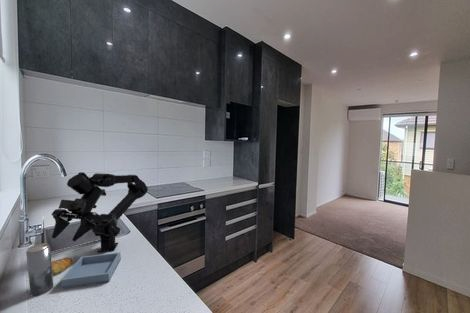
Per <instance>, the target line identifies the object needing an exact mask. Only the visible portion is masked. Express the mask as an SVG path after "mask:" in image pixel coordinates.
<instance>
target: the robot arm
mask: <svg viewBox="0 0 470 313" xmlns="http://www.w3.org/2000/svg"><path fill="white" fill-rule="evenodd" d="M116 184H127V186H126V187H127V188H128V190H127V194H126V195H125V196H124V197H123V199H122V200H120V201H119V202H118V203H117V204H116V206H114V208H112V209H111V210H110V212H108V213H101V214H99V213H97V212H96V211H93V209H96V208H97V207H98V206H97V205H96V204H97V202H98V201H99V199H100V198H101V196H103V197H105V196H107V192H106V189H104V188H109V187H112V186H114V185H116ZM66 186H67V187H69V188H70V189H71V190H73V191H74V192H76V193H77V194H79V195H82V196H81V197H80V198H77V197H76V198H74V200H70V199H61V201H60V203H59V206H58V208H56V209H54V210H53V212H51V216H52V218H53V219H54V221H55V222H54V223H55V224H54V228H53V232H52V235H51V238H52V239H56V238H57V237H58V236H60V234H62V232H63V231H64V230H65V229H66V228H67V227H69V225H71V221H73V220H80V224H79V227H78V228H77V230H76V232H75V233H74V236H72V239H71V241H72V242H77V240H79V239H80V238H81V237H83V236H84V235H85V234H86V233H89V231H92V232H93V234H94V235H95V237H99V238H100V241H99V242H100V248H99V249H98V250H97V252H98V253H103V252H105V253H106V252H113V251H115V250H116V248H117V247H118V245H119V242H116V237H117V236H118V235H119V234H121V233H120V231H121V228H120V227H118V220H119V219H120V218H121V217H122V216H123V215H124V214H125V213H126V212H127V210H128V209H129V208H130V207H131V206H132V205H133V204H134V202H135V201H136V200H138V199H141V198H143V197H144V196H146V194H147V192H148V190H149V189H148V186H147V184H146V183H145V181H143V180H142V179H140V177H139V176H138V175H136V174H125V175H124V174H119V175H115V174H111V173H102V172H101V173H100V172H99V173H98V172H95V173H93V174H92V176H88V175H87V174H86V173H85V172H81V171H80V172H78V174H76V175H73V176H72V177H70V178H69V179H68V180H67V183H66Z"/></svg>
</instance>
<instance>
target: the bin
mask: <svg viewBox="0 0 470 313" xmlns="http://www.w3.org/2000/svg"><path fill="white" fill-rule="evenodd" d="M121 259H122V256H121V252H111V253H102V254H93V255H86V256H85V255H83V256H81V257H80V258H79V259H78V260H77V261H76V263H74V265H72V267H71V268H70V269H69V270H68V271H67V272H66V274H65V275H64V276H63V277H62V278H61V279H60V280H61V281H60V282H61V289H69V288H78V287H83V286H90V285H98V284H104V283H110V281H111V279H112V278H113V276H114V274H115V271H116V270H117V267H118V266H119V264H120V261H121Z"/></svg>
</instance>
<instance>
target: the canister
mask: <svg viewBox="0 0 470 313" xmlns="http://www.w3.org/2000/svg"><path fill="white" fill-rule="evenodd" d="M25 253H26V263H27V264H26V265H27V273H28V274H27V275H28V282H29V293H30V294H29V295H30V296H31V295H32V296H31V297H39V296H42V295H45V294H46V293H48V292H51V290H53V289H54V276H53V274H52V263H51V262H52V252H51V245H50V244H49V243H48V242H46V243H45V242H43V243H38V244H35V245H32V246H29V248H27V250H26V251H25Z"/></svg>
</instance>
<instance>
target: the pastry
mask: <svg viewBox="0 0 470 313" xmlns="http://www.w3.org/2000/svg"><path fill="white" fill-rule="evenodd" d="M51 263H52V274H53V277H54V276H57V275H60V274H61V273H63V272H64V271H66V270H67V269H69V267H70V266H71V265H72V264H73V258H72V257H63V258H59V259H55V260H51Z"/></svg>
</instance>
